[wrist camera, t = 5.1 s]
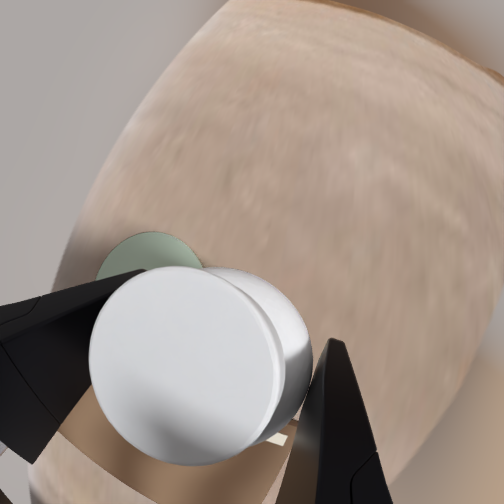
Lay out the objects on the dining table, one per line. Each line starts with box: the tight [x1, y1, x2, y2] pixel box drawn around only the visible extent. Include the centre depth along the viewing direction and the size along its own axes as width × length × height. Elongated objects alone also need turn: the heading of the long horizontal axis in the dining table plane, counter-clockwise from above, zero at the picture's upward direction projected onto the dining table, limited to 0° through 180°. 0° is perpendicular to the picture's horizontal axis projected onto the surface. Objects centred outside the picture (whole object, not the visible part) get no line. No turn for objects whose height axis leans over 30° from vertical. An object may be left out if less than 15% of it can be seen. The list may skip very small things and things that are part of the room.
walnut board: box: [57, 385, 298, 504], centre depth 14 cm, size 16×10×1 cm, turn 69°
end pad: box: [95, 232, 203, 281], centre depth 18 cm, size 9×9×1 cm
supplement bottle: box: [89, 266, 313, 466], centre depth 9 cm, size 5×5×10 cm
